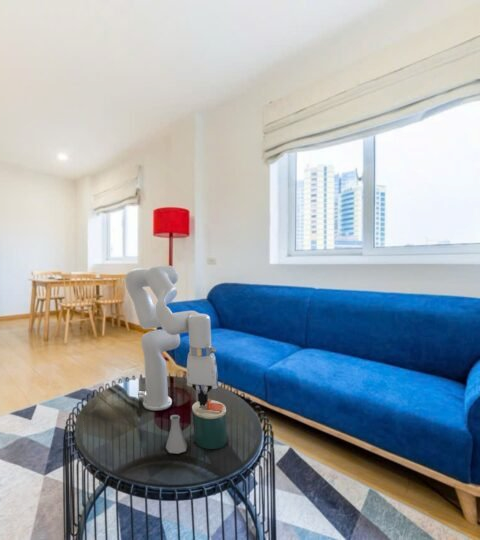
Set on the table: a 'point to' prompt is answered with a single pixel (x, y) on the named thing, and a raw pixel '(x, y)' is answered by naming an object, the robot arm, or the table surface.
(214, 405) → the slider
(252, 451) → the table surface
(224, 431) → the sliding lid canister
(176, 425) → the flask
